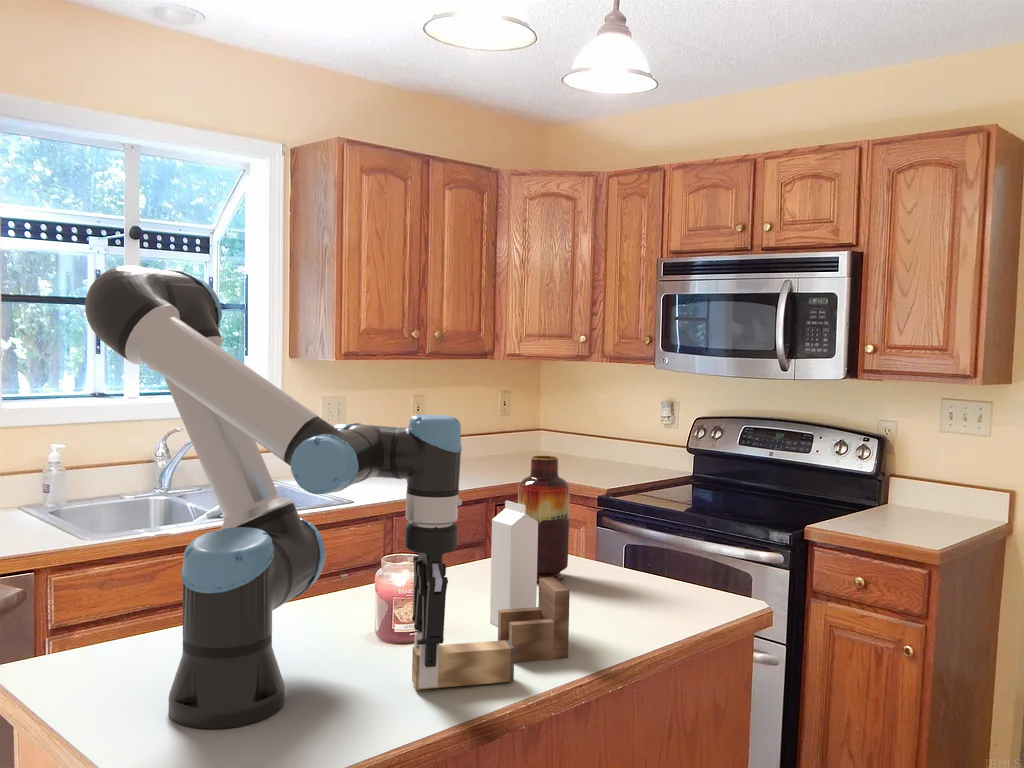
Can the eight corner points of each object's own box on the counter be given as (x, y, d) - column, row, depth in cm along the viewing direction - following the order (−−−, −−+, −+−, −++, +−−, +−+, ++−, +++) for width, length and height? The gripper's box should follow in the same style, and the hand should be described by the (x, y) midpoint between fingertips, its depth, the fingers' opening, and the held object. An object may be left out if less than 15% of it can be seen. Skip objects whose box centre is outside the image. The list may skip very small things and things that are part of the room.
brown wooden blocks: (511, 662, 140) (512, 593, 139) (497, 645, 147) (499, 580, 147) (568, 657, 142) (569, 590, 142) (551, 640, 150) (553, 576, 150)
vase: (512, 582, 186) (515, 459, 185) (520, 569, 197) (523, 453, 196) (564, 586, 184) (567, 461, 183) (570, 572, 195) (572, 455, 194)
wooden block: (416, 689, 127) (416, 655, 127) (411, 680, 130) (412, 646, 130) (513, 681, 131) (514, 648, 131) (507, 672, 134) (508, 640, 134)
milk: (509, 632, 154) (511, 507, 153) (489, 623, 159) (491, 501, 158) (536, 626, 158) (539, 503, 157) (516, 617, 163) (518, 498, 162)
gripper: (470, 534, 121) (463, 702, 122) (445, 510, 137) (439, 659, 138) (416, 535, 119) (409, 706, 120) (397, 510, 135) (391, 661, 136)
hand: (425, 680), depth 129 cm, fingers closed on wooden block, 3 cm apart
